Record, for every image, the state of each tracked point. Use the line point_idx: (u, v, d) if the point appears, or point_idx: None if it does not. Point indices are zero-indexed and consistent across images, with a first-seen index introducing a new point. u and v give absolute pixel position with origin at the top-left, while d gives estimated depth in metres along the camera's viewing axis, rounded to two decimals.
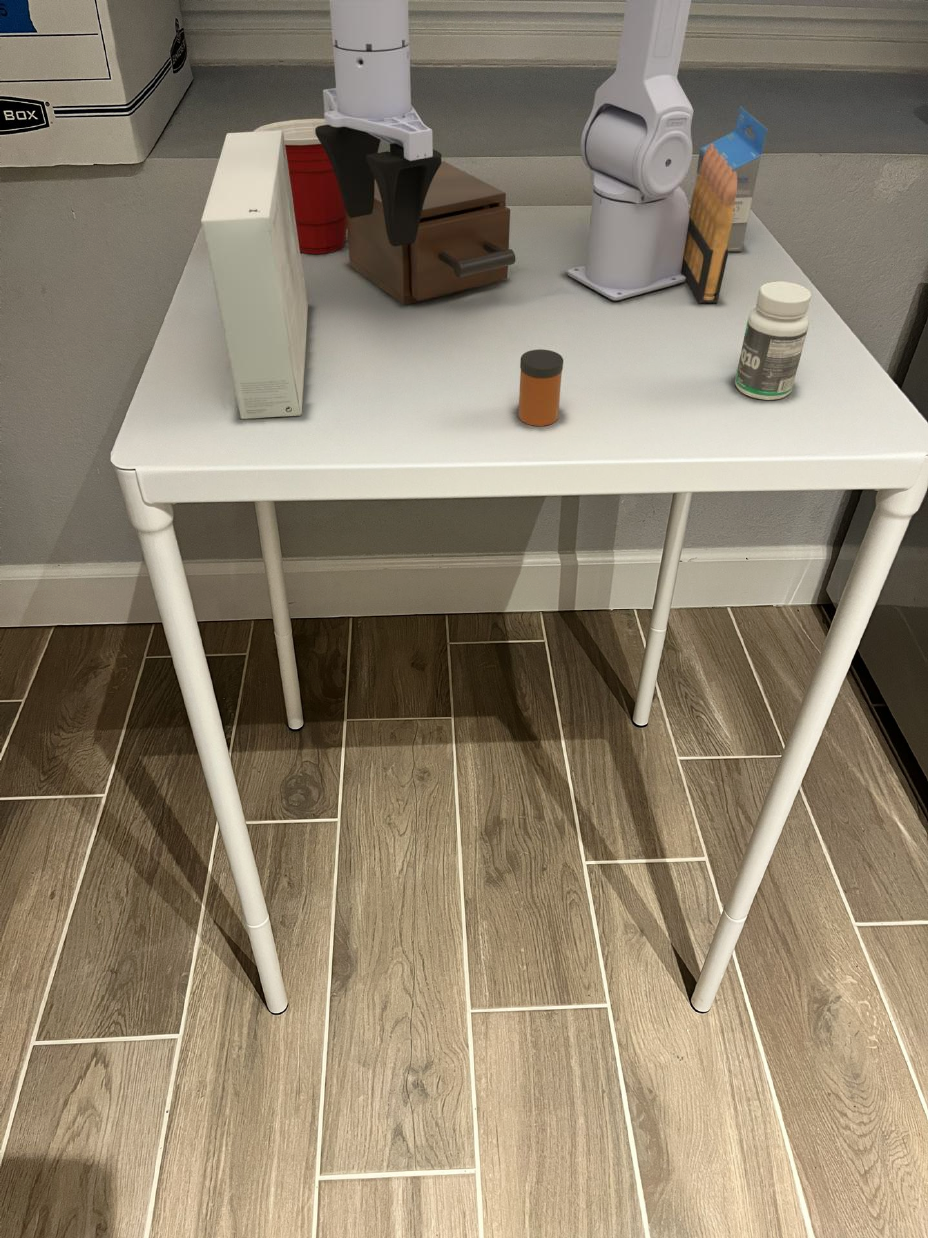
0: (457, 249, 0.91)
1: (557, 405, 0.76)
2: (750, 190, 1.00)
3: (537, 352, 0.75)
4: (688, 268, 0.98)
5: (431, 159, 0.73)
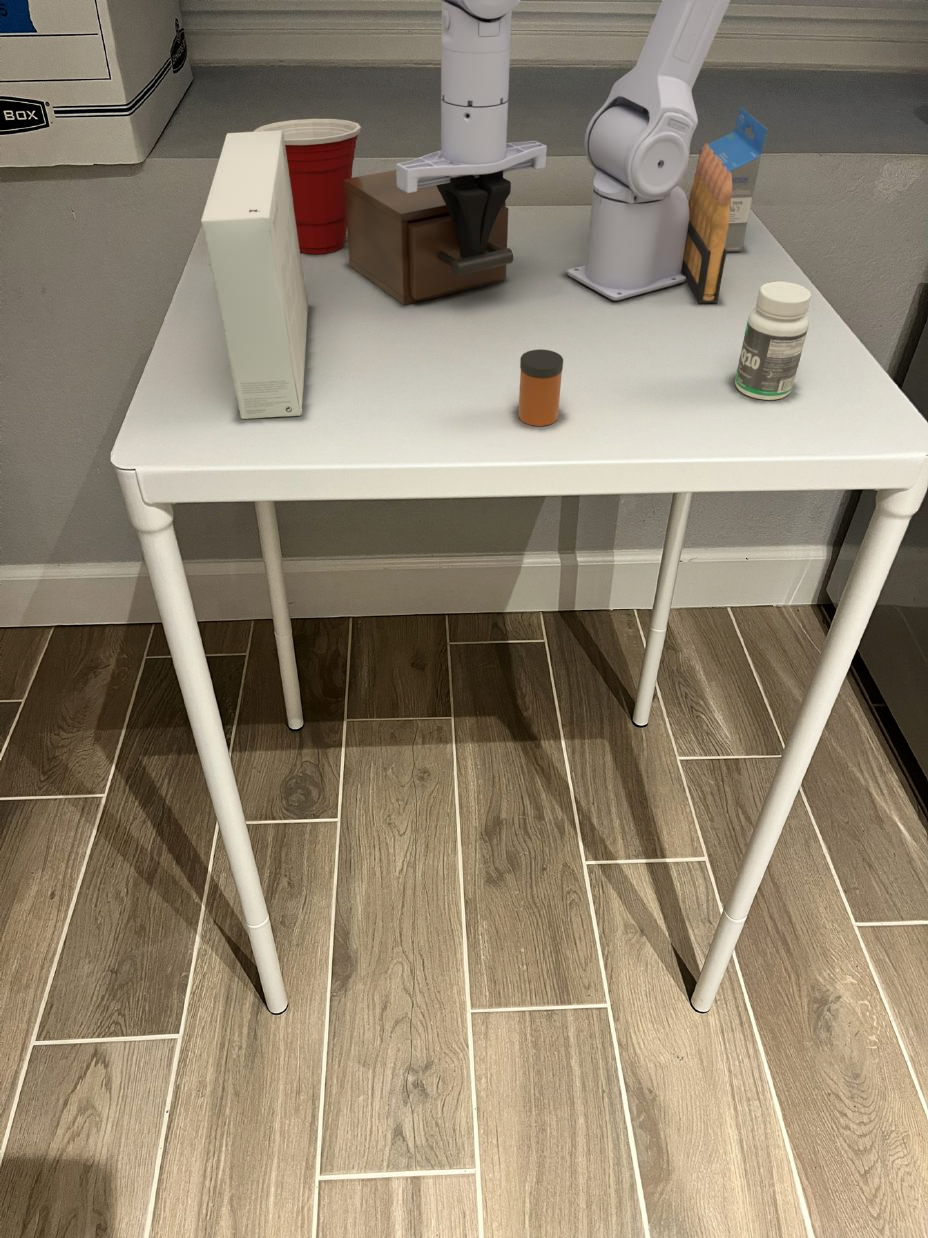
0: (456, 248, 0.91)
1: (557, 405, 0.76)
2: (750, 190, 1.00)
3: (537, 352, 0.75)
4: (687, 269, 0.98)
5: (456, 192, 0.84)
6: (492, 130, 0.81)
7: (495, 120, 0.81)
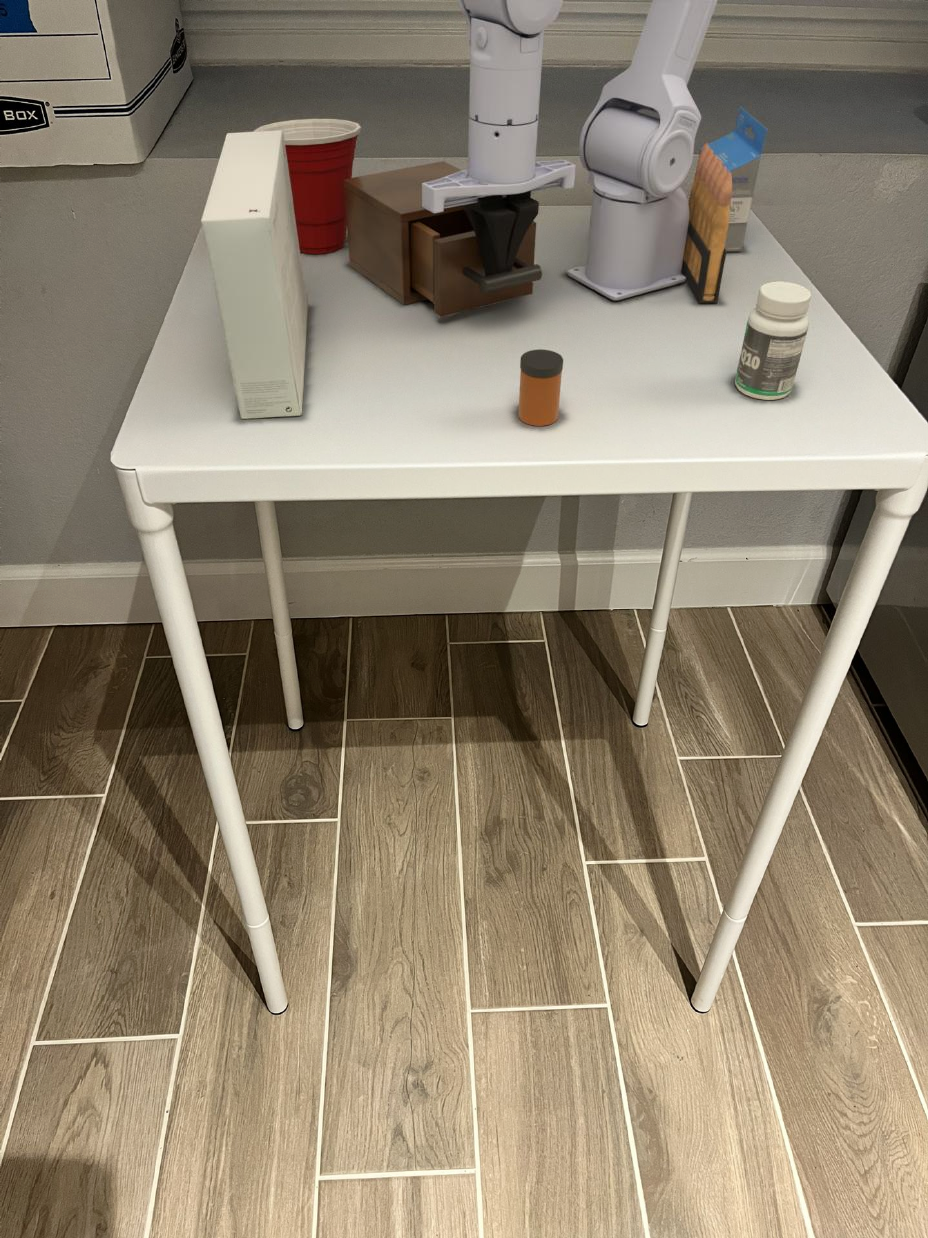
0: (482, 264, 0.88)
1: (557, 405, 0.76)
2: (750, 190, 1.00)
3: (537, 352, 0.75)
4: (687, 269, 0.98)
5: (484, 212, 0.81)
6: (522, 149, 0.78)
7: (525, 139, 0.78)
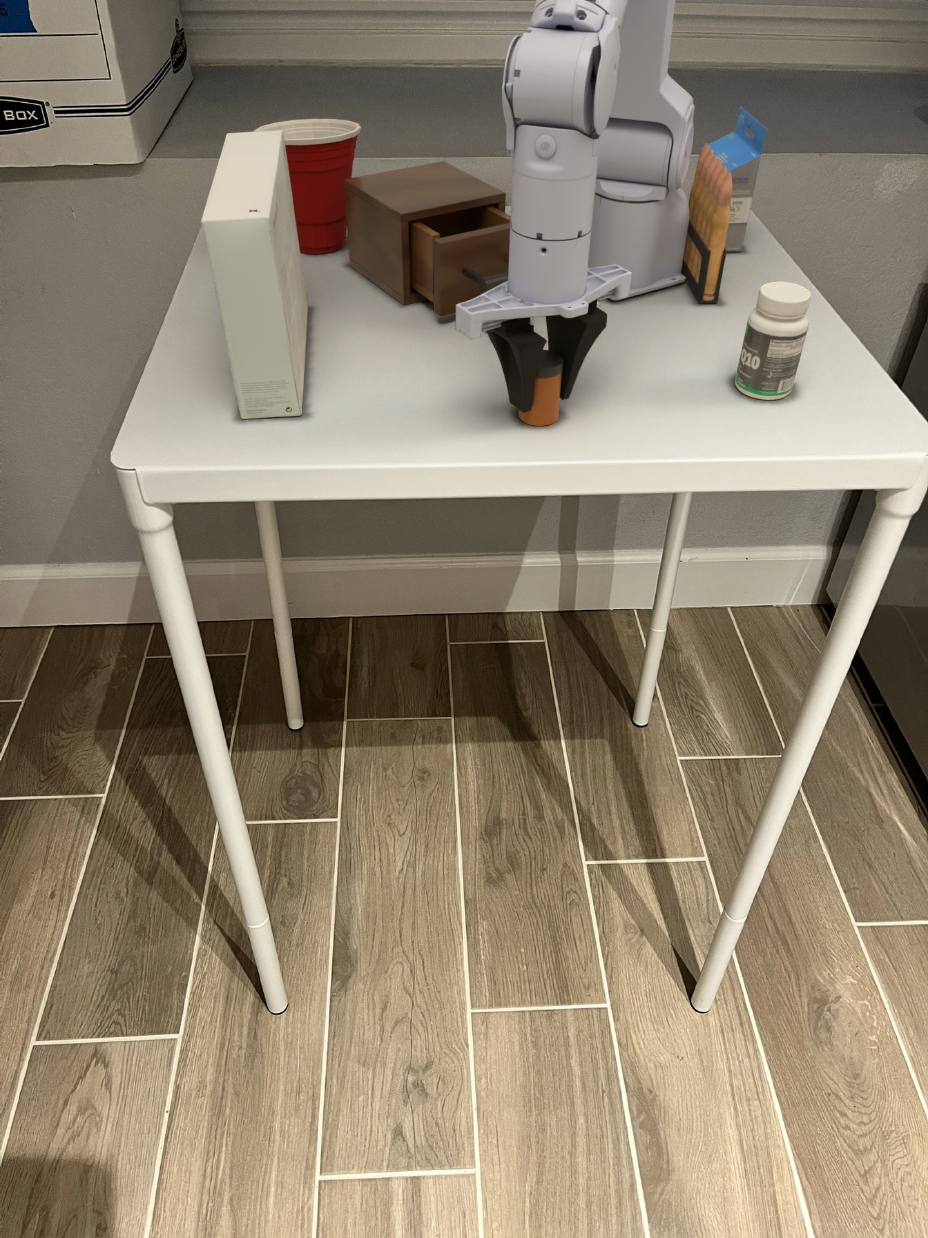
0: (482, 264, 0.88)
1: (557, 405, 0.76)
2: (750, 190, 1.00)
3: None
4: (687, 269, 0.98)
5: None
6: None
7: None
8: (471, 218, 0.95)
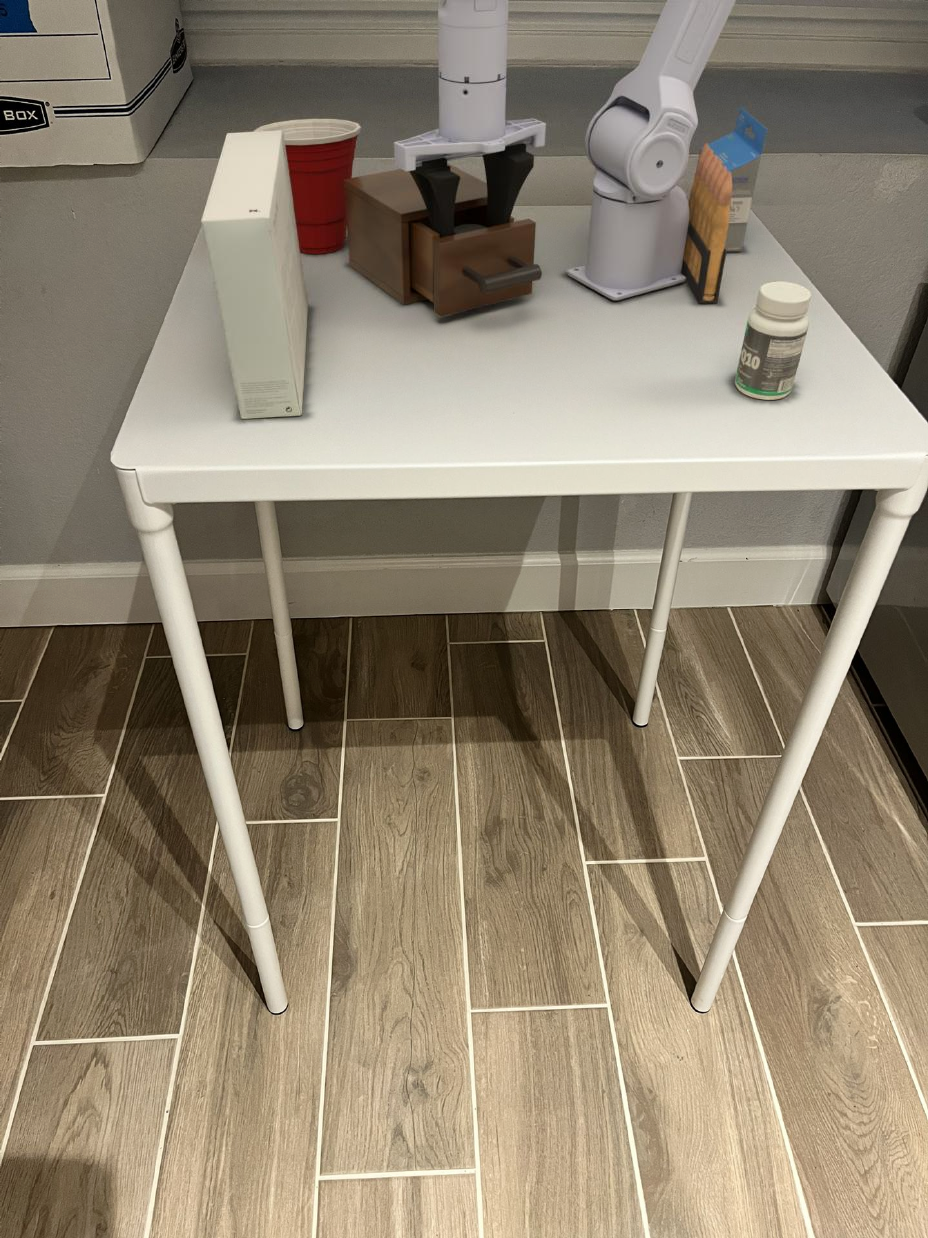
0: (482, 264, 0.88)
1: None
2: (750, 190, 1.00)
3: (467, 225, 0.90)
4: (687, 269, 0.98)
5: None
6: None
7: None
8: (471, 218, 0.95)
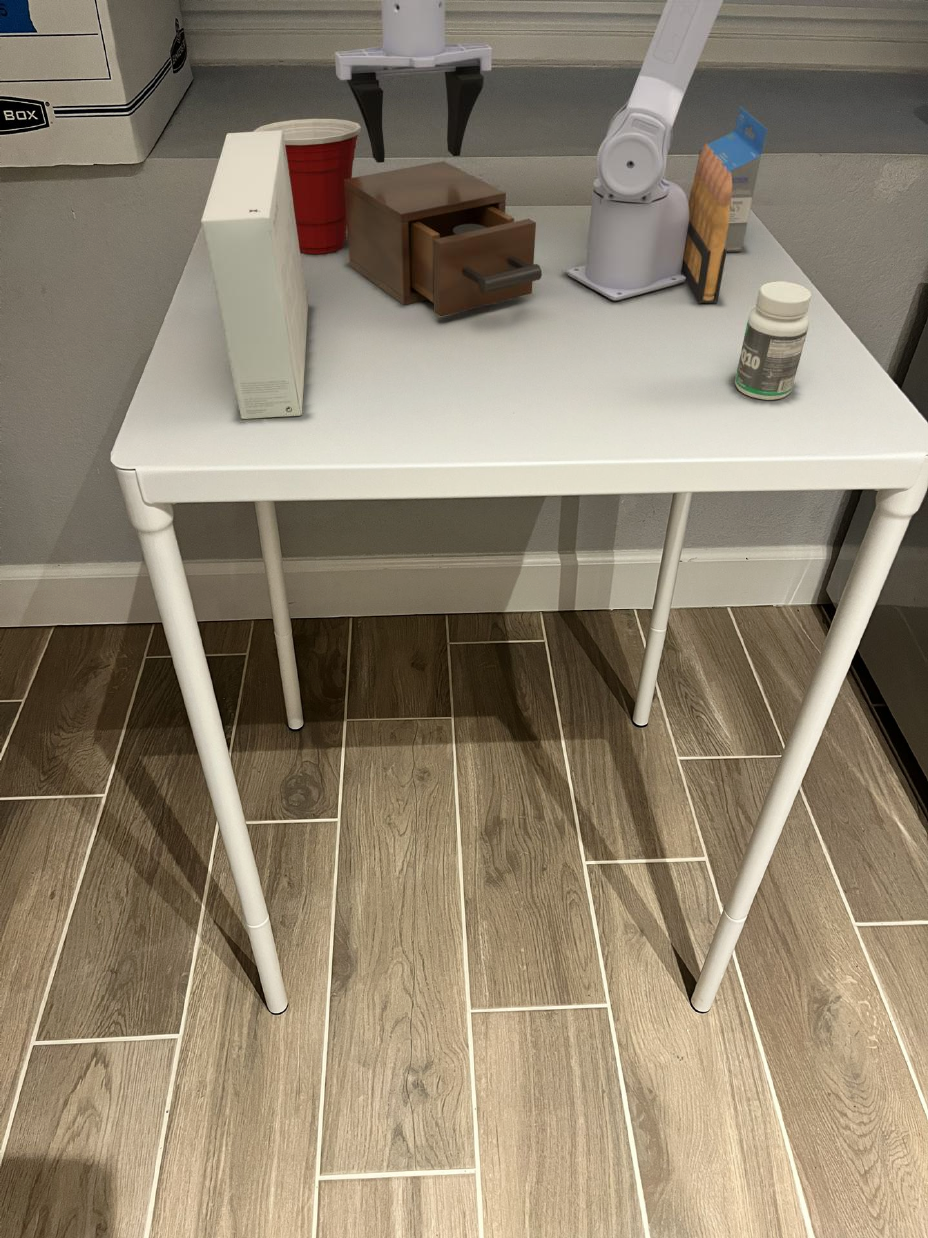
0: (482, 264, 0.88)
1: None
2: (750, 190, 1.00)
3: (467, 225, 0.90)
4: (687, 269, 0.98)
5: None
6: None
7: None
8: (471, 218, 0.95)
